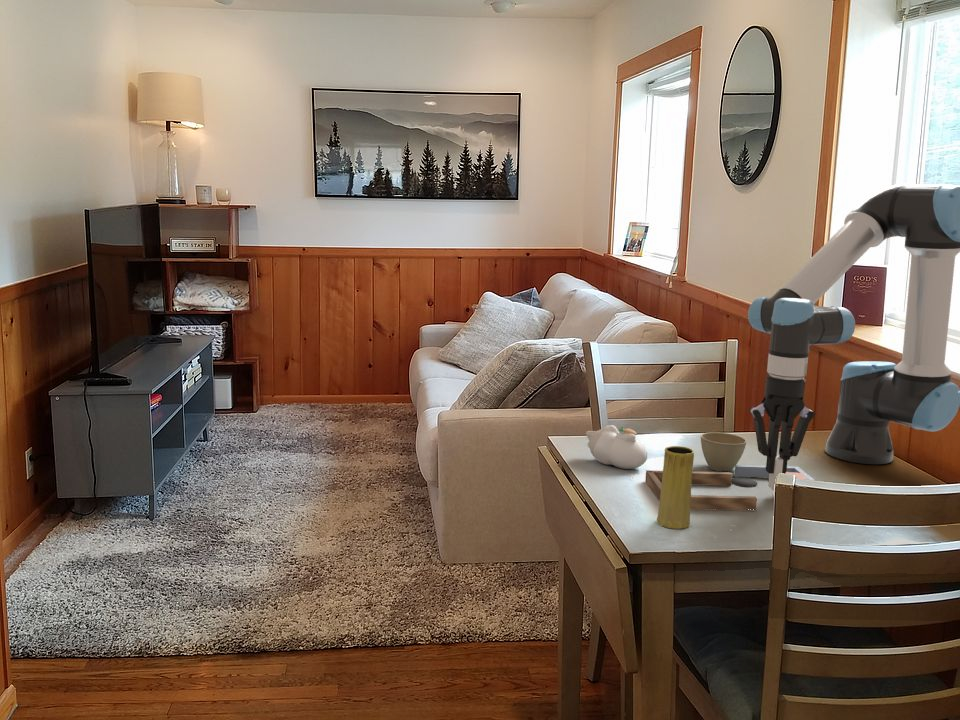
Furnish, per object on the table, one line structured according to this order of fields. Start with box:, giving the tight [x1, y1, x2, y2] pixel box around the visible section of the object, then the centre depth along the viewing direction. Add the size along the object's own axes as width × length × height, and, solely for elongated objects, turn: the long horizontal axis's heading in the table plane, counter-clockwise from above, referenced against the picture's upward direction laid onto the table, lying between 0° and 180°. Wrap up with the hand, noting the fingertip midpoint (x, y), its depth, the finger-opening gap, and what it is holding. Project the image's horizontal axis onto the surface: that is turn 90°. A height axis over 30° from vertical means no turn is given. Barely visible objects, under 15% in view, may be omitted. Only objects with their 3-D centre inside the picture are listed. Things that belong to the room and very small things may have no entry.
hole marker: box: [731, 477, 758, 488], centre depth 195 cm, size 5×5×1 cm
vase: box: [656, 445, 695, 530], centre depth 168 cm, size 6×6×14 cm
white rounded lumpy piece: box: [585, 424, 648, 470], centre depth 204 cm, size 10×8×15 cm
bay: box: [734, 464, 815, 480], centre depth 195 cm, size 14×10×2 cm
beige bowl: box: [700, 431, 748, 472], centre depth 204 cm, size 10×10×7 cm
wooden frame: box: [644, 469, 758, 511], centre depth 186 cm, size 18×16×2 cm
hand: (774, 488), depth 186 cm, fingers closed
